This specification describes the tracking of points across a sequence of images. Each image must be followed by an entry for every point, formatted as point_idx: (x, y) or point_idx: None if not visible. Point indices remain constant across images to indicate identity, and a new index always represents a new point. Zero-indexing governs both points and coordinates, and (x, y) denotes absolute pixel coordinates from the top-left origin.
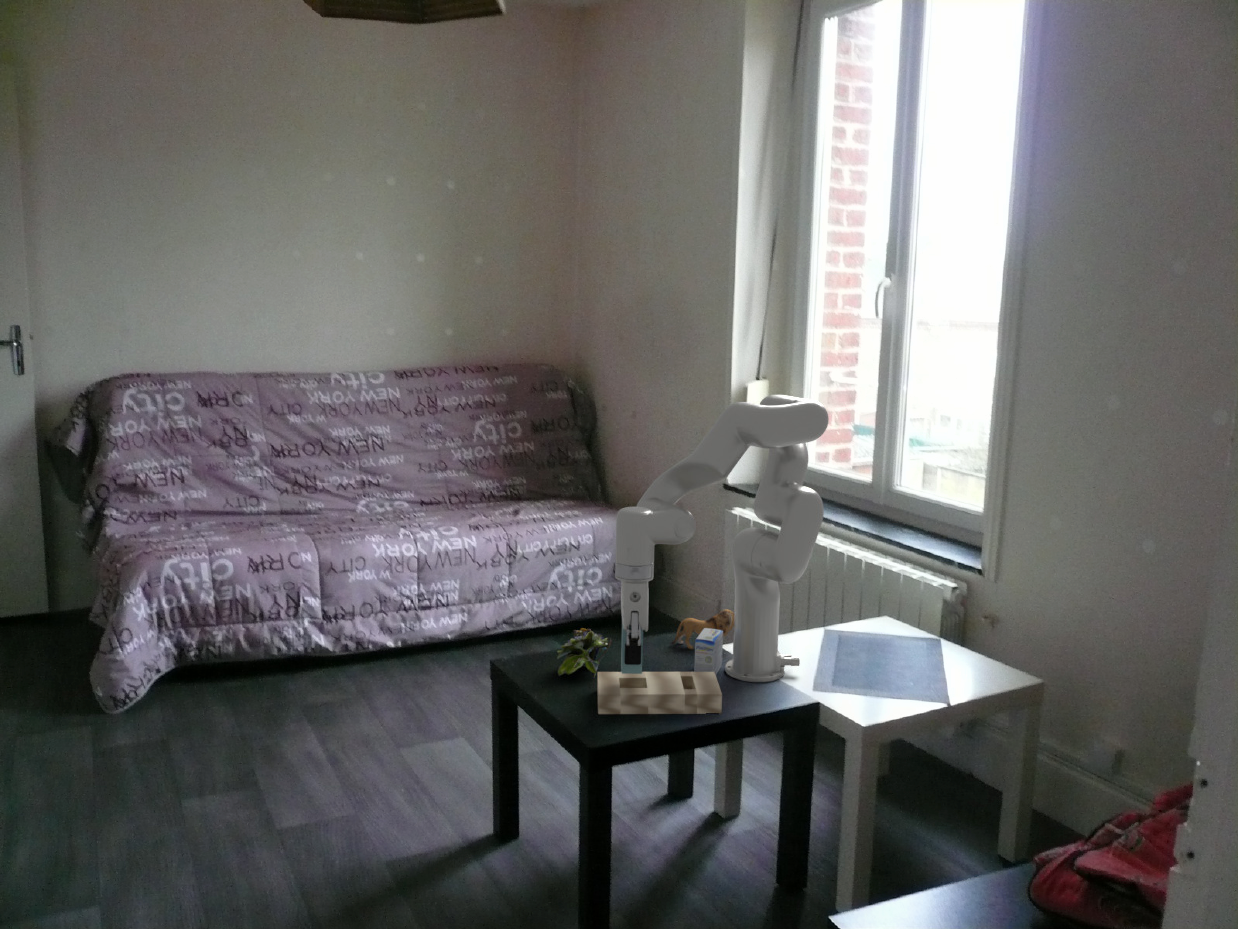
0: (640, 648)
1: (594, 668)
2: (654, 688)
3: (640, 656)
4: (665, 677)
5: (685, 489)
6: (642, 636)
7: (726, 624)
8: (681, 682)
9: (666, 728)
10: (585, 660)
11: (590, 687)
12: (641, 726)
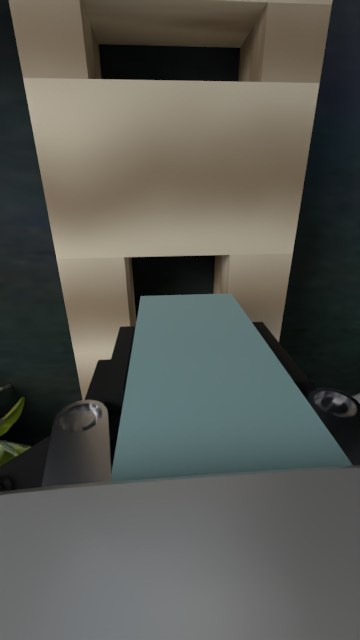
0: (296, 371)
1: (14, 409)
2: (238, 227)
3: (274, 342)
4: (113, 167)
5: None
6: (319, 421)
7: None
8: (172, 84)
9: None
10: (18, 454)
11: (75, 389)
12: (344, 262)
